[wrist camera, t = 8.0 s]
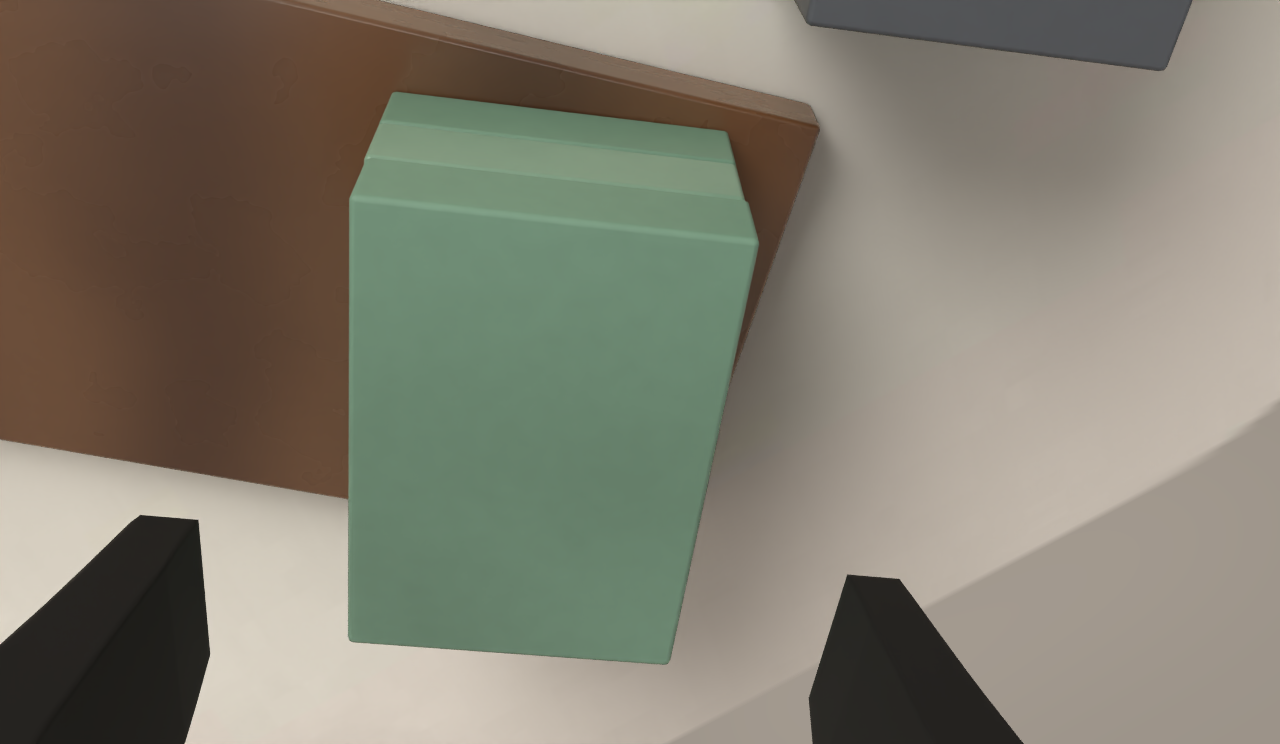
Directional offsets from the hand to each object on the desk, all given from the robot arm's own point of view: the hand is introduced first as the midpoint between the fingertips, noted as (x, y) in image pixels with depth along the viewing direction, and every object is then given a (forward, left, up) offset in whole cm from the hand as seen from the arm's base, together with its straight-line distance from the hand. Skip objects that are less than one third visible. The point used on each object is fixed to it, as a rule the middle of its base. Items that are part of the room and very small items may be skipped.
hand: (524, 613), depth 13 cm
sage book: (0, 0, -4) cm, 4 cm away
